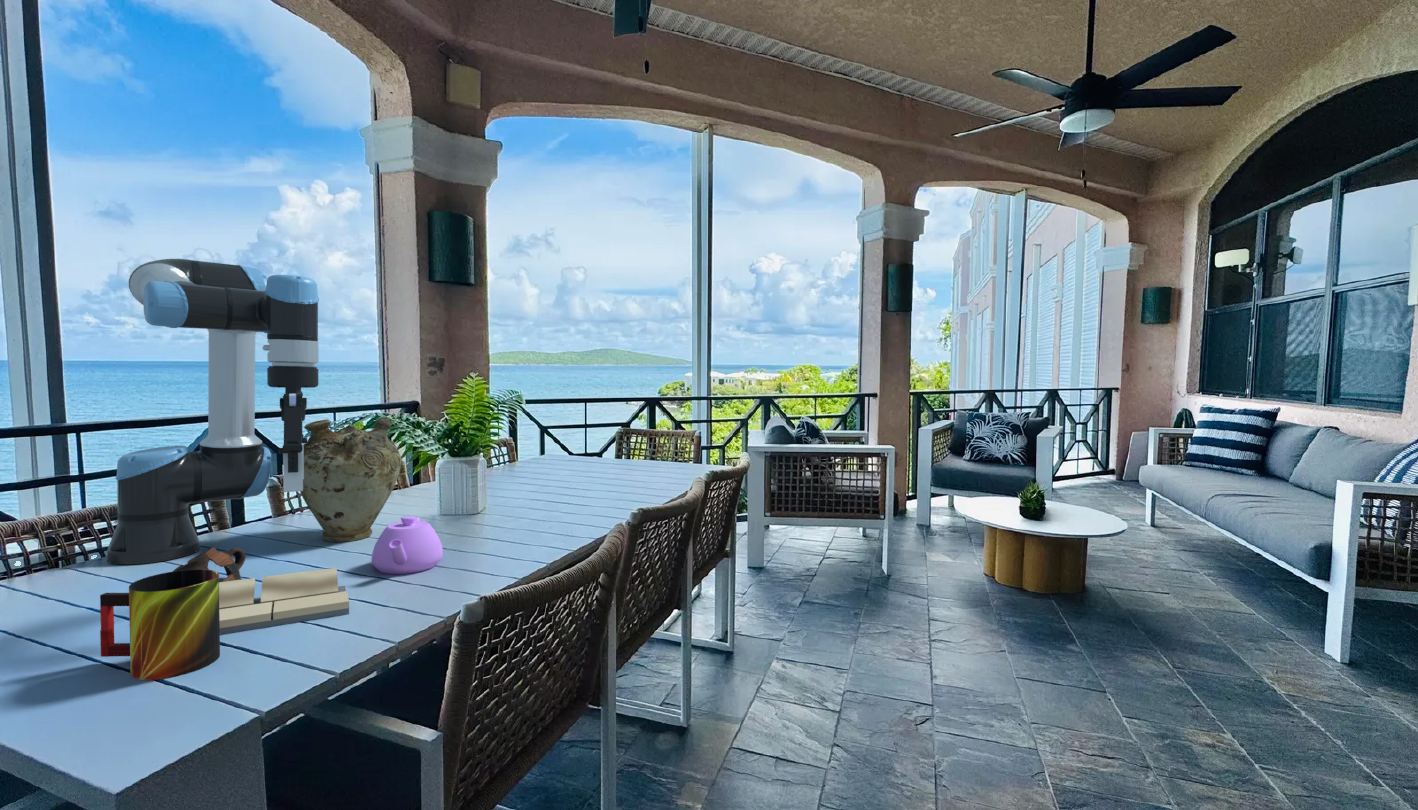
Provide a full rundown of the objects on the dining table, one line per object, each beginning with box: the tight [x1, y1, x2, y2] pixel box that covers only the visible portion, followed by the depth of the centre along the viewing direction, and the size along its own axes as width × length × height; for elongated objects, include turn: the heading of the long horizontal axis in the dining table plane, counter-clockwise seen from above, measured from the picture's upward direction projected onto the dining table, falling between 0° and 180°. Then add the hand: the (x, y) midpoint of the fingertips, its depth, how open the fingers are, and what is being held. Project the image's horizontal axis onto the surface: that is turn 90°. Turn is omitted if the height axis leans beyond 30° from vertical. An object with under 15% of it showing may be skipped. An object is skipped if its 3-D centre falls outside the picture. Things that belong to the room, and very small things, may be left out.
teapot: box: [371, 515, 444, 575], centre depth 134 cm, size 14×20×11 cm
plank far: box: [260, 567, 339, 606], centre depth 112 cm, size 6×11×1 cm, turn 122°
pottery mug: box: [173, 547, 246, 582], centre depth 120 cm, size 12×10×8 cm
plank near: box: [219, 577, 256, 609], centre depth 105 cm, size 6×11×1 cm, turn 122°
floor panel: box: [219, 585, 350, 635], centre depth 106 cm, size 13×26×2 cm, turn 123°
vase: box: [299, 416, 402, 543], centre depth 155 cm, size 23×23×30 cm
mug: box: [99, 569, 221, 681], centre depth 87 cm, size 10×14×12 cm
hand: (294, 485), depth 111 cm, fingers open, 13 cm apart
